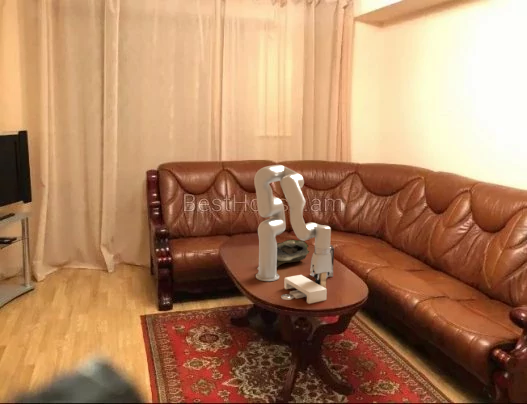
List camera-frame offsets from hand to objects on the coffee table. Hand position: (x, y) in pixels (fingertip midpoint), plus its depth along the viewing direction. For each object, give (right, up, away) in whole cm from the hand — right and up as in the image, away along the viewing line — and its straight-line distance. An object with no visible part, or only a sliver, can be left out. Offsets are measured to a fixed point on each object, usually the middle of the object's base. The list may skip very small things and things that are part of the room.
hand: (320, 285), depth 240 cm
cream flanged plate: (-8, -3, -4) cm, 10 cm away
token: (-17, -5, -9) cm, 20 cm away
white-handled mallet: (-6, -3, -3) cm, 8 cm away
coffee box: (+5, +2, +23) cm, 24 cm away
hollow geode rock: (-14, +5, +42) cm, 44 cm away
